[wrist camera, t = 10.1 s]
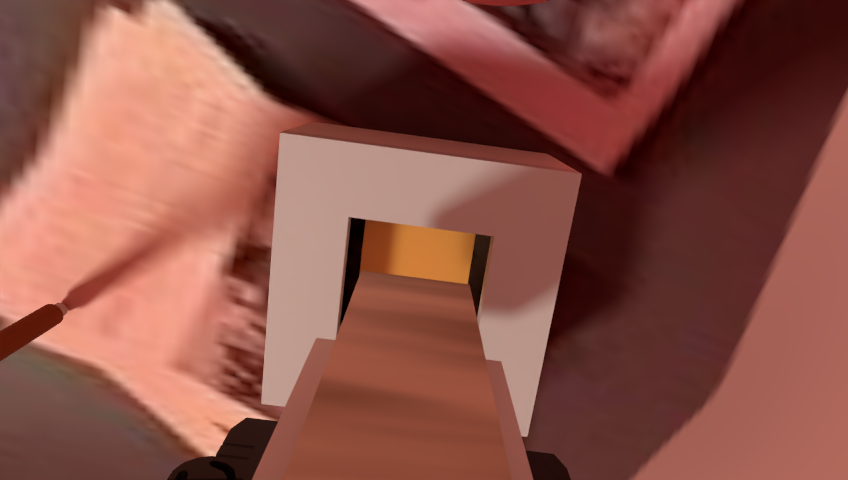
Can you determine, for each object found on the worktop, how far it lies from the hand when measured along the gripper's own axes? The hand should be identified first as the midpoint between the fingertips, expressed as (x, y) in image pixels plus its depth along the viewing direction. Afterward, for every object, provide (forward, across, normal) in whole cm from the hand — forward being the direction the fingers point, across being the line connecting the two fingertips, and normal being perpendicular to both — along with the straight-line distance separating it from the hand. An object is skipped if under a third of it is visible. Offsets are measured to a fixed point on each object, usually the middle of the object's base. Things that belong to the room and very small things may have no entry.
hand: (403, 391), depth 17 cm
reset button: (+13, 0, 0) cm, 13 cm away
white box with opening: (+14, 0, 0) cm, 14 cm away
